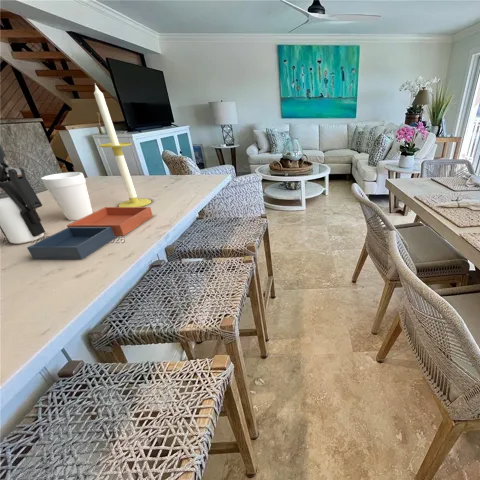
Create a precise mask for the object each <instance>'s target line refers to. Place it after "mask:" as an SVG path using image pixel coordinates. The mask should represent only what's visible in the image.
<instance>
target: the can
mask: <svg viewBox="0 0 480 480" xmlns="http://www.w3.org/2000/svg"><path fill="white" fill-rule="evenodd" d="M26 206H27V205H26ZM20 211H22V210H21V209H20V208H19V207H18V205H17V204H16V203H15V202H14V201H13V200H12V199H11V198H10V197H9V196H8V194H7V193H6V192H2V193H1V192H0V227H1V228H2V230H3V231H4V233H5V235H6V236H5V235H4V236H5V237H6V239H8V241H9V243H11V244H14V245H22V244H28V243H32V242H35V241H38V240H41V239H42V238H43V237H44V235H45V232H44V233H42V234H40V235H38V236H32V234H31V232H30V230H29V228H28V227H27V225H26V223H25V221H24V219H23V218H22V216H21V214H20Z"/></svg>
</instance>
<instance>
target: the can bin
mask: <svg viewBox="0 0 480 480" xmlns="http://www.w3.org/2000/svg"><path fill="white" fill-rule="evenodd" d="M115 238H116V236H115V235H114V233H113V230H112V228H111V227H66V228H64V229H62V230H60V231H58V232H56V233H53V234H52V235H50V236H48V237H46V238H44V239H42V240H41V239H40V240H39V241H37V242H35V243H33V244H31V245H29V246H27V247H26V249H27V250H28V252H29V254H30V256H31V257H32V259H33V260H83V259H85V258H86V257H88V256H89V255H91V254H93V253H94V252H96V251H97V250H99V249H100V248H102V247H103V246H105V245H106V244H107V243H109V242H110V241H112V240H114V239H115Z"/></svg>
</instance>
